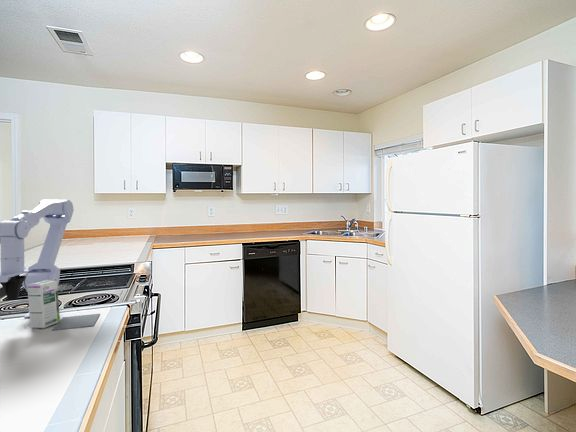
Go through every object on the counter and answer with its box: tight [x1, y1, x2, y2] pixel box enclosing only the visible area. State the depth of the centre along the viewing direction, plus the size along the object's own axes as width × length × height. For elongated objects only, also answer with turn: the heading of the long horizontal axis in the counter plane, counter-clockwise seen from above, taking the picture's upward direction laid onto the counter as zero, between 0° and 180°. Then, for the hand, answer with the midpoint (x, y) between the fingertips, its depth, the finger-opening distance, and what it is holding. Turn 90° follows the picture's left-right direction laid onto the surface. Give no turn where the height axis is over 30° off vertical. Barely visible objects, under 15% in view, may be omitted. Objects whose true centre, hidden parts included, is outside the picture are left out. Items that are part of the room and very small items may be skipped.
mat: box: [51, 313, 101, 332], centre depth 108 cm, size 12×12×1 cm
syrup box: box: [27, 280, 61, 329], centre depth 105 cm, size 6×6×14 cm
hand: (13, 299), depth 101 cm, fingers closed
